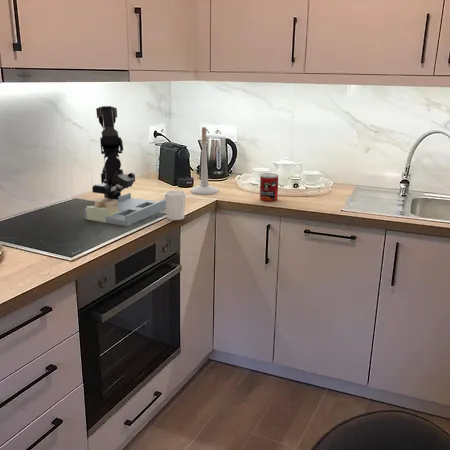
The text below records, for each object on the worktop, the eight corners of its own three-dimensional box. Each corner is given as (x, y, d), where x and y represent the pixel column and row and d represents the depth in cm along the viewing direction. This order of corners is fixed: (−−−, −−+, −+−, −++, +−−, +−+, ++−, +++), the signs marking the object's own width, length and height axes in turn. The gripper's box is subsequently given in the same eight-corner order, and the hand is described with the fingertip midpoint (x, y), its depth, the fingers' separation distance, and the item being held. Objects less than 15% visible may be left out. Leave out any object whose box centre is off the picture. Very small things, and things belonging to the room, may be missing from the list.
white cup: (180, 221, 192) (179, 196, 189) (161, 219, 194) (160, 194, 191) (189, 216, 199) (188, 191, 196) (170, 214, 201) (170, 189, 198)
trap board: (85, 219, 195) (84, 206, 193) (129, 201, 218) (128, 190, 217) (127, 226, 186) (127, 213, 185) (168, 207, 210) (168, 195, 209)
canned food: (257, 200, 221) (258, 175, 218) (263, 196, 228) (263, 172, 225) (274, 202, 218) (275, 177, 215) (279, 198, 225) (280, 173, 222)
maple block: (95, 212, 196) (94, 201, 194) (105, 208, 201) (105, 197, 199) (108, 214, 193) (107, 203, 192) (118, 210, 198) (117, 199, 197)
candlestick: (219, 188, 242) (218, 124, 233) (217, 195, 230) (217, 128, 221) (192, 187, 243) (191, 124, 234) (189, 194, 231) (188, 127, 222)
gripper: (114, 173, 185) (116, 214, 190) (143, 164, 201) (145, 202, 206) (89, 170, 189) (93, 210, 194) (120, 162, 205) (122, 199, 210)
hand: (114, 205), depth 201 cm, fingers closed
